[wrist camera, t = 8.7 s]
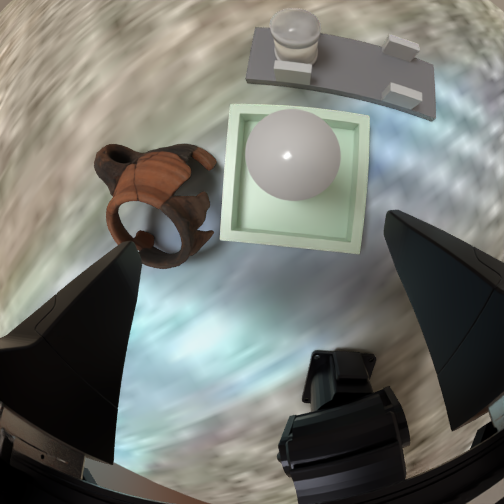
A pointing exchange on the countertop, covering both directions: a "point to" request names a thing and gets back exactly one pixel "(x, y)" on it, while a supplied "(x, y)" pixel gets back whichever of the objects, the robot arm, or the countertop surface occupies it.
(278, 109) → the tray
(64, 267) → the countertop surface
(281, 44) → the cylinder
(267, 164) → the banded fuse
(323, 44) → the block
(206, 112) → the countertop surface
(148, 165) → the pottery mug
